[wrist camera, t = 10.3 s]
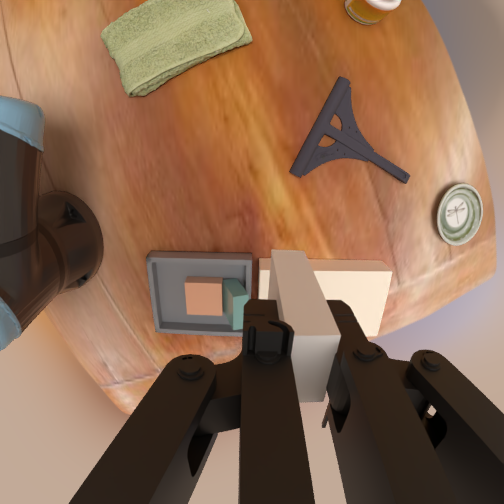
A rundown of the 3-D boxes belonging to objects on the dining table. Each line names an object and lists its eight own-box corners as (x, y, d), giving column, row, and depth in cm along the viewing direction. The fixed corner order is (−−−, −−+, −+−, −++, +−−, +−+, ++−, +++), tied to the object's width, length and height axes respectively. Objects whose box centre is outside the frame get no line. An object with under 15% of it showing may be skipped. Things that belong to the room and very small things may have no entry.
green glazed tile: (236, 309, 45) (223, 311, 44) (236, 278, 43) (222, 279, 42) (247, 327, 41) (233, 330, 40) (248, 294, 39) (233, 296, 38)
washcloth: (257, 43, 33) (258, 36, 30) (134, 104, 35) (125, 102, 32) (216, -26, 29) (214, -37, 26) (102, 33, 31) (92, 27, 28)
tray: (159, 323, 46) (155, 332, 44) (151, 250, 42) (145, 257, 40) (249, 327, 47) (249, 336, 44) (251, 253, 42) (252, 260, 40)
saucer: (441, 252, 43) (449, 257, 41) (420, 201, 40) (428, 205, 38) (480, 220, 41) (489, 224, 39) (463, 169, 38) (472, 171, 36)
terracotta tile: (222, 315, 43) (223, 308, 45) (221, 283, 41) (222, 277, 43) (187, 314, 43) (189, 307, 45) (184, 282, 41) (187, 276, 43)
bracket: (379, 221, 42) (386, 227, 39) (288, 171, 39) (291, 173, 37) (423, 136, 37) (433, 137, 35) (337, 78, 35) (343, 74, 32)
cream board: (256, 323, 46) (257, 339, 43) (259, 257, 43) (260, 270, 39) (368, 321, 47) (376, 335, 43) (381, 260, 43) (392, 271, 39)
